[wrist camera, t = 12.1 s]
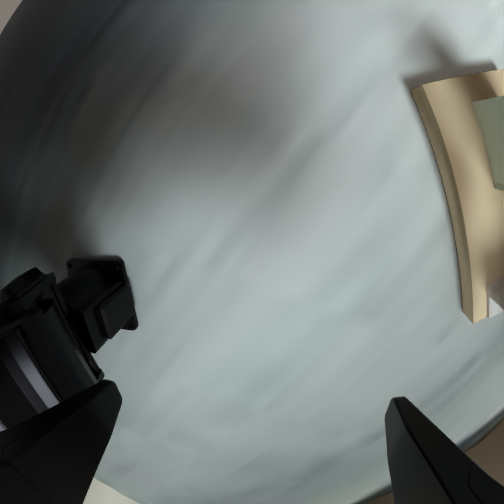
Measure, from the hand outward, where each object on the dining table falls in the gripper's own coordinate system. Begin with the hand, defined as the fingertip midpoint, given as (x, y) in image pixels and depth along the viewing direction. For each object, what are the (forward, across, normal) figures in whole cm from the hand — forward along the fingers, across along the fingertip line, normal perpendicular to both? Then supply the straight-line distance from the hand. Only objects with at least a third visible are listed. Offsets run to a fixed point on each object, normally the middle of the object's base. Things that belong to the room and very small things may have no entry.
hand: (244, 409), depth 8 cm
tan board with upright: (+13, -18, -5) cm, 23 cm away
